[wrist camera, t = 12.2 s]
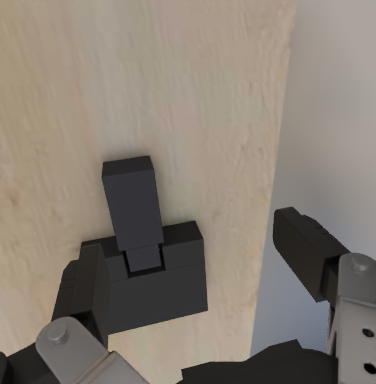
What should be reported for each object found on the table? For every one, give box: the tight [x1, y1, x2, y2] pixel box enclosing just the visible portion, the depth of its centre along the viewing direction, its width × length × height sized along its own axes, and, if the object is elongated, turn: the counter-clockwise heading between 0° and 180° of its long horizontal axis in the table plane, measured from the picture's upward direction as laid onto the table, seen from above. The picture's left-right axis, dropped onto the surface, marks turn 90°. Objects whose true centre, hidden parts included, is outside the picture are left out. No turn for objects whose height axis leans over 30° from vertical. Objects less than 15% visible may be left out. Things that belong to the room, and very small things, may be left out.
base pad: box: [79, 221, 208, 335], centre depth 37 cm, size 14×12×4 cm
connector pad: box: [102, 156, 164, 272], centre depth 32 cm, size 5×12×4 cm, turn 4°
